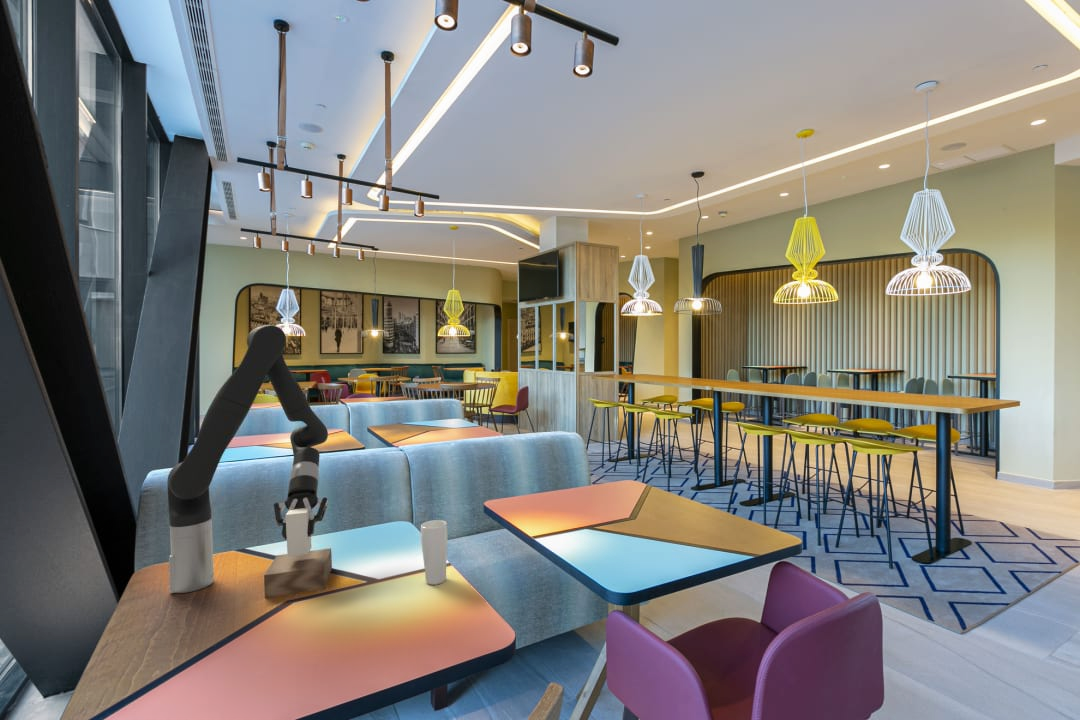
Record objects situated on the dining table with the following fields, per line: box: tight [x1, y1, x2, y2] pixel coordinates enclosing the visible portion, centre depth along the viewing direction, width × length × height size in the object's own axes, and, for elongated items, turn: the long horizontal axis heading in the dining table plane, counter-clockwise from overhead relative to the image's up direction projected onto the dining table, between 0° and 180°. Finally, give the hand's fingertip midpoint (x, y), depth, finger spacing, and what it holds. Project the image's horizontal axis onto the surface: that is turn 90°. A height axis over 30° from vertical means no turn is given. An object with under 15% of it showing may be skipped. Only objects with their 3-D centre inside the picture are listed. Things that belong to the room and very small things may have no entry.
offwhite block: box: [285, 508, 312, 557], centre depth 134 cm, size 5×5×11 cm
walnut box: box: [263, 547, 333, 599], centre depth 134 cm, size 14×14×6 cm
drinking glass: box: [420, 519, 448, 586], centre depth 130 cm, size 7×7×15 cm
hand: (297, 536), depth 132 cm, fingers closed on offwhite block, 5 cm apart
